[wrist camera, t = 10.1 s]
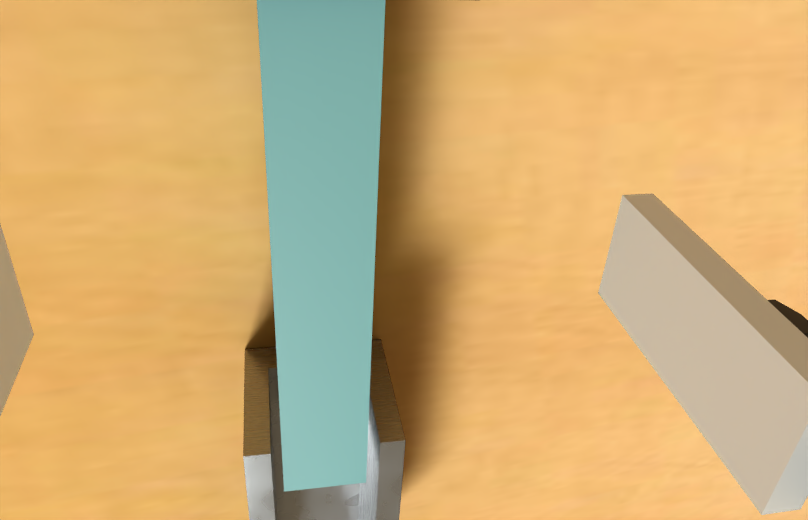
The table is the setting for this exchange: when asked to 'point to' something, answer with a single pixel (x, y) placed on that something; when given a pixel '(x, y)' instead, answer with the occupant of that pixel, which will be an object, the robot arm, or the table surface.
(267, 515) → the sleeve
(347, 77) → the bar
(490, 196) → the table surface
